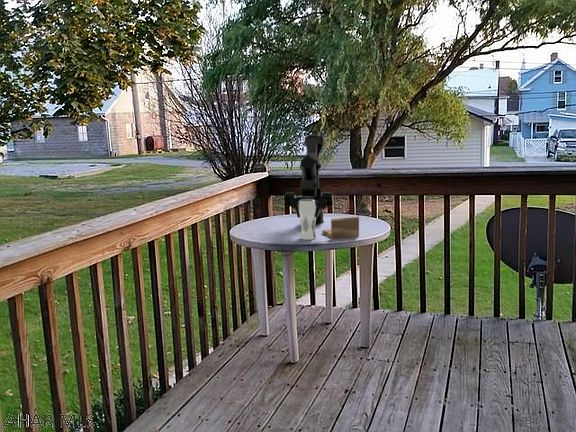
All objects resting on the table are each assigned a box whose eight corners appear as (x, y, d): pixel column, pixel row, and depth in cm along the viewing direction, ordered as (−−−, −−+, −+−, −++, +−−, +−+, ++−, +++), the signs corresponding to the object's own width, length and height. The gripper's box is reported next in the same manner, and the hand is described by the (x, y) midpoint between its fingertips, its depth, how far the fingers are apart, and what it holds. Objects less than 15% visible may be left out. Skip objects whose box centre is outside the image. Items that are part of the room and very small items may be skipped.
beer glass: (298, 236, 218) (297, 199, 216) (315, 236, 219) (315, 198, 216) (300, 240, 212) (299, 201, 209) (318, 240, 212) (317, 200, 209)
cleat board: (322, 233, 223) (322, 214, 222) (347, 231, 227) (347, 212, 225) (332, 238, 213) (332, 219, 212) (358, 236, 217) (358, 217, 216)
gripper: (283, 172, 216) (280, 204, 207) (332, 171, 213) (331, 204, 205) (286, 189, 225) (283, 221, 216) (333, 189, 223) (332, 221, 214)
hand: (307, 217), depth 212 cm, fingers closed on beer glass, 7 cm apart
